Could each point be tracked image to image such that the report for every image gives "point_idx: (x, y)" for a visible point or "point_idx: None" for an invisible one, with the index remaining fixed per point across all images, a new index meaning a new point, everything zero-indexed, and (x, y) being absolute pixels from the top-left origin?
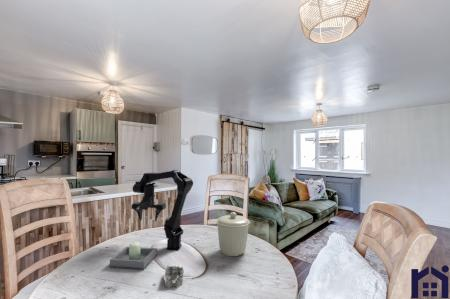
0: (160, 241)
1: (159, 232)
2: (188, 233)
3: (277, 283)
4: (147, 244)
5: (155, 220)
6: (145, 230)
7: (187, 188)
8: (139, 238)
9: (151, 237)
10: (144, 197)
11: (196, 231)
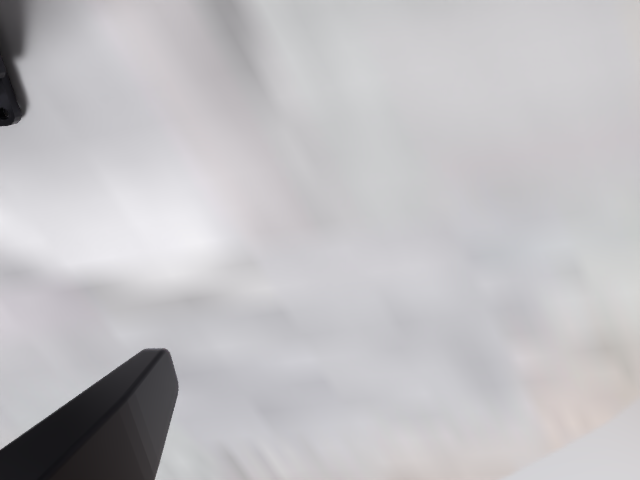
0: (215, 200)
1: (357, 417)
2: None
3: None
4: (332, 75)
5: (143, 362)
6: (535, 443)
7: None
8: (524, 241)
9: (384, 290)
10: None
11: None
